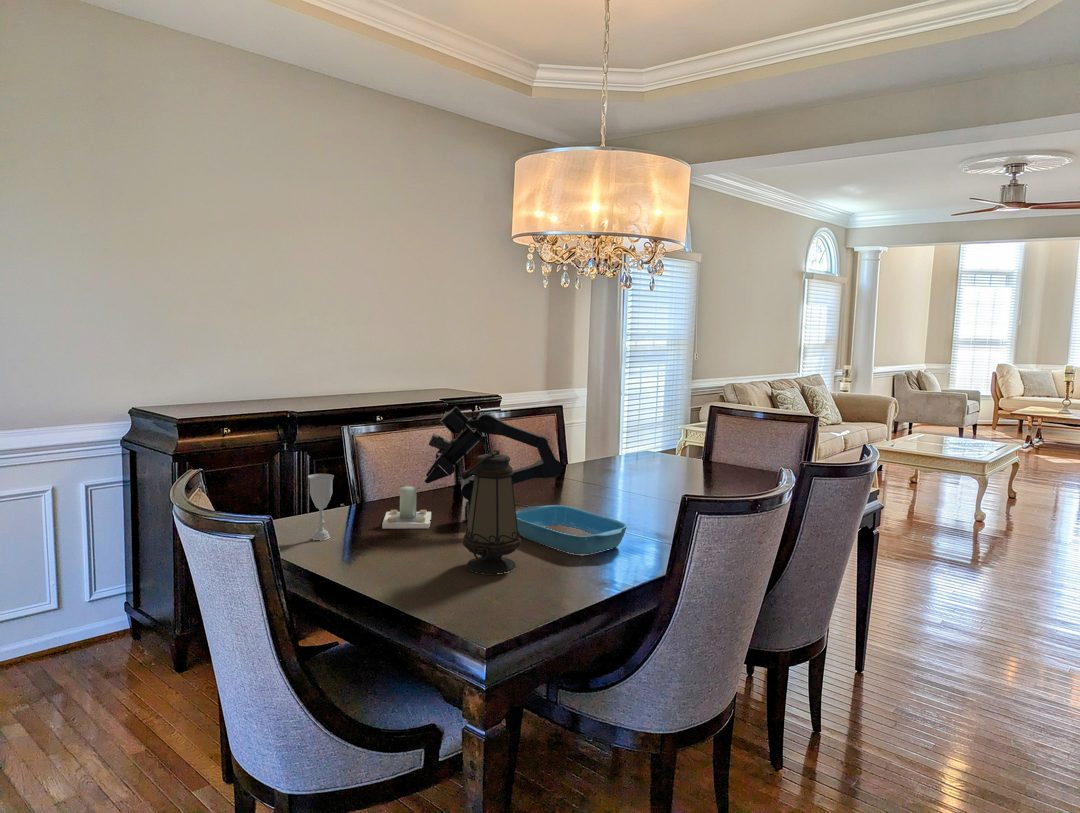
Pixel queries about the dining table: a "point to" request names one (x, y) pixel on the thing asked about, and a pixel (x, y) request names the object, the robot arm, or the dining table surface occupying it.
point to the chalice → (321, 499)
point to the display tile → (407, 520)
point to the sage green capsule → (407, 502)
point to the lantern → (491, 515)
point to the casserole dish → (540, 517)
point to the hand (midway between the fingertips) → (426, 479)
